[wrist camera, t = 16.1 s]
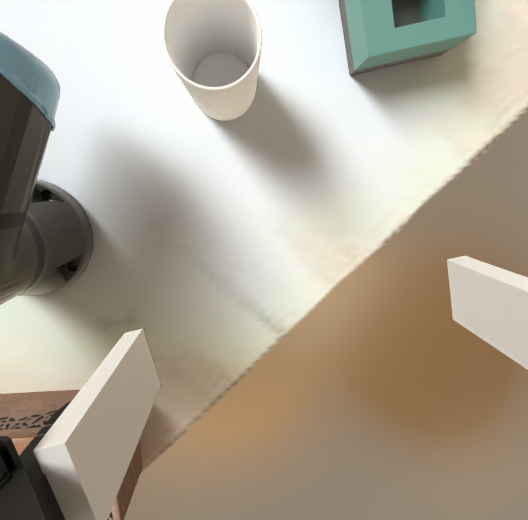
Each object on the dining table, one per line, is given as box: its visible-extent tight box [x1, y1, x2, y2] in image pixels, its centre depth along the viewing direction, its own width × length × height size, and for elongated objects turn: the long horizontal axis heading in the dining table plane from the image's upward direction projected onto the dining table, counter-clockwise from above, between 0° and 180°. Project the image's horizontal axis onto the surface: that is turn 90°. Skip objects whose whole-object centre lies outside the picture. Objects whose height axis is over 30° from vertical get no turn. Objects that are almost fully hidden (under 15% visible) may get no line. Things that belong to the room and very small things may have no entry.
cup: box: [162, 0, 262, 121], centre depth 37 cm, size 8×8×16 cm
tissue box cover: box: [0, 390, 142, 520], centre depth 50 cm, size 26×14×10 cm, turn 92°
